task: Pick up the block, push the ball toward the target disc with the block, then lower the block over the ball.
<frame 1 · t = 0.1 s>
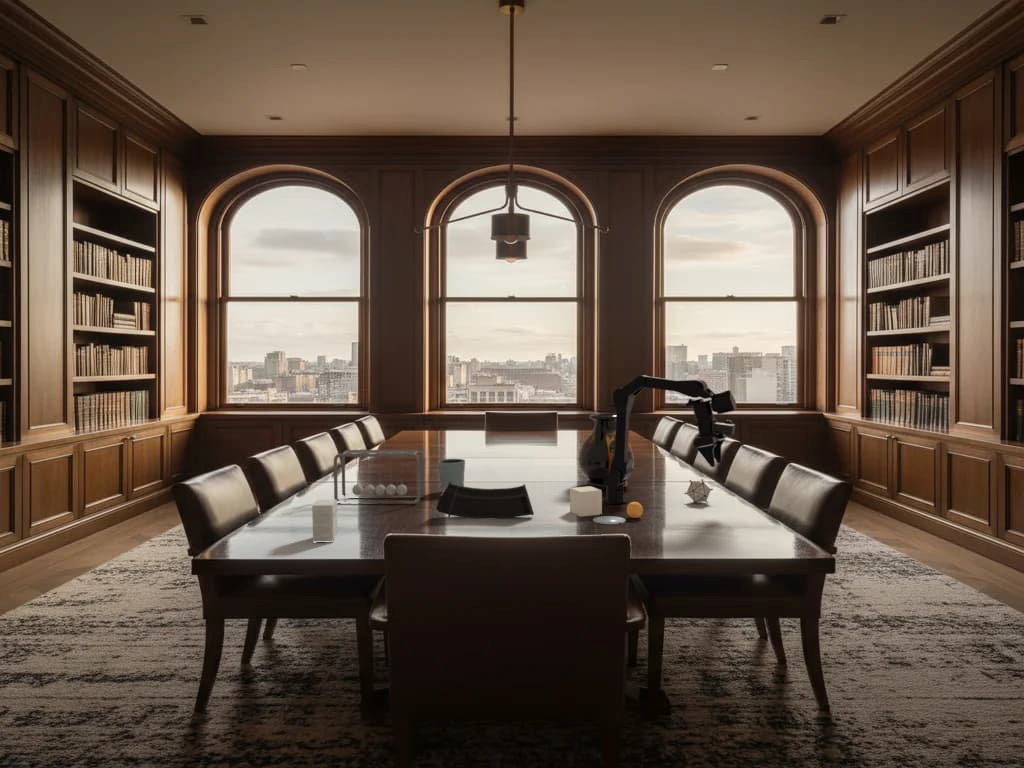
hand: (716, 464, 225), 15 cm above the table, tool pointing down, fingers open, 9 cm apart
ball: (634, 509, 219), on the table
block: (585, 513, 226), on the table
amphora vase: (606, 486, 273), on the table
small box: (325, 540, 196), on the table
newton's cradle: (380, 502, 247), on the table
target disc: (609, 520, 216), on the table
magazine: (485, 518, 221), on the table
drinking glass: (451, 492, 263), on the table
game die: (698, 503, 241), on the table
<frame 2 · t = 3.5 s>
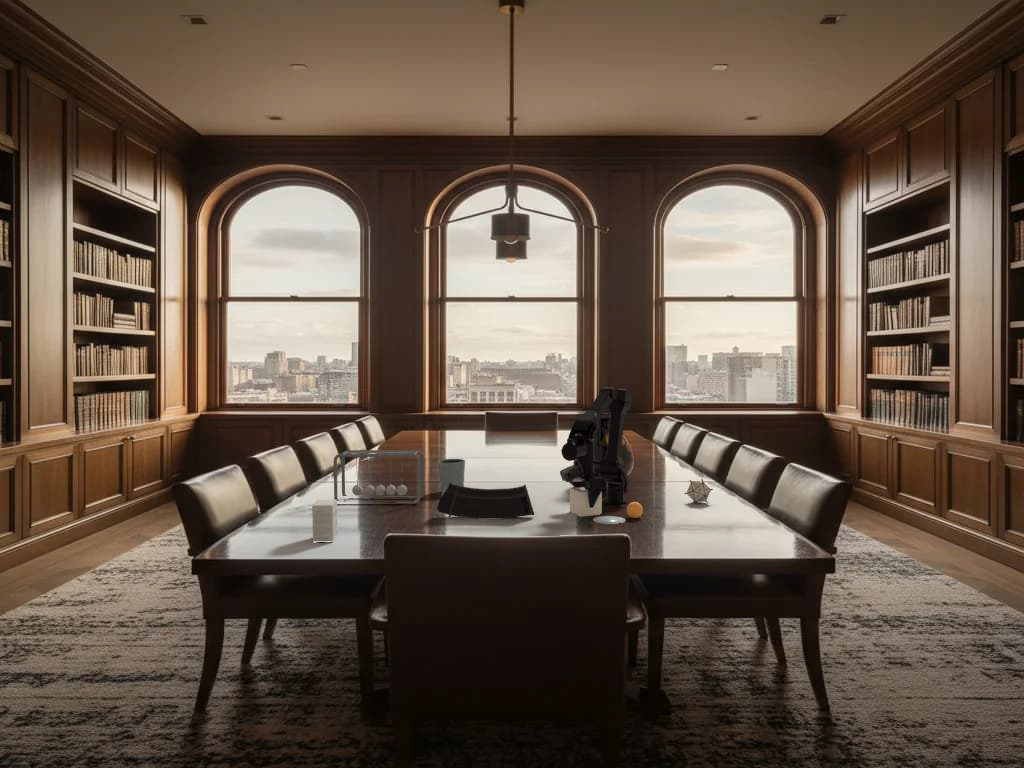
hand: (585, 505, 226), 3 cm above the table, tool pointing down, fingers closed on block, 8 cm apart
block: (585, 513, 226), on the table, touching gripper
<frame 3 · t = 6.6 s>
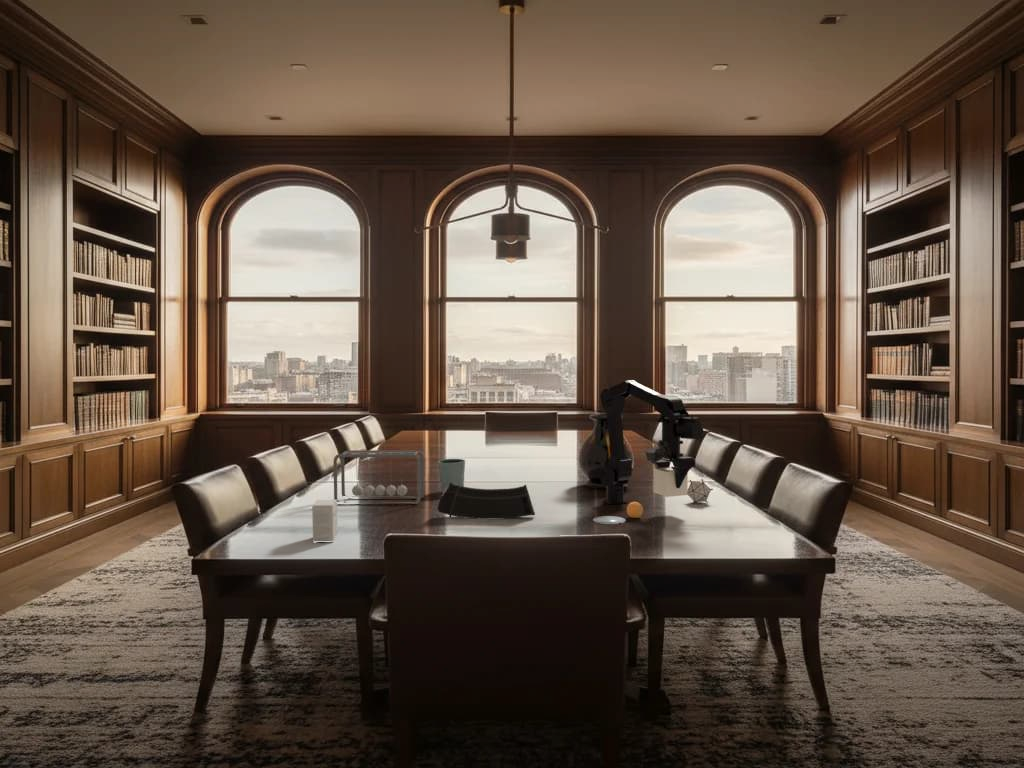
hand: (670, 485, 224), 9 cm above the table, tool pointing down, fingers closed on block, 8 cm apart
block: (670, 493, 224), point 7 cm above the table, touching gripper
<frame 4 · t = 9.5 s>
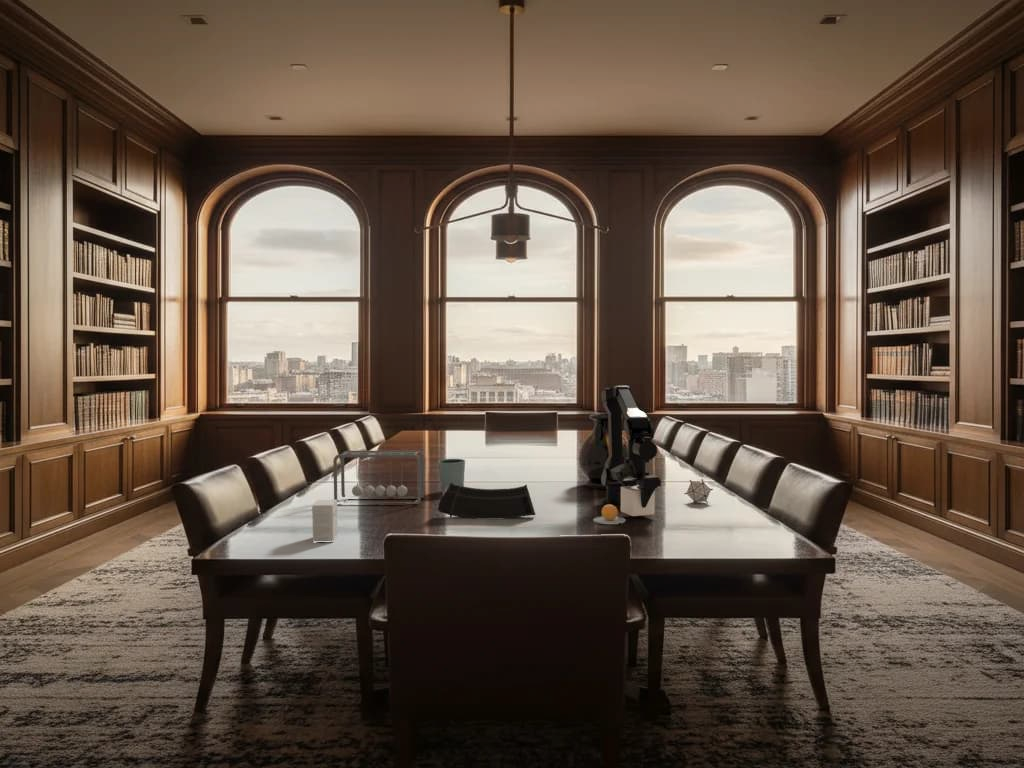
hand: (636, 505, 219), 4 cm above the table, tool pointing down, fingers closed on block, 8 cm apart
ball: (609, 512, 216), on the table
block: (637, 512, 219), point 2 cm above the table, touching gripper
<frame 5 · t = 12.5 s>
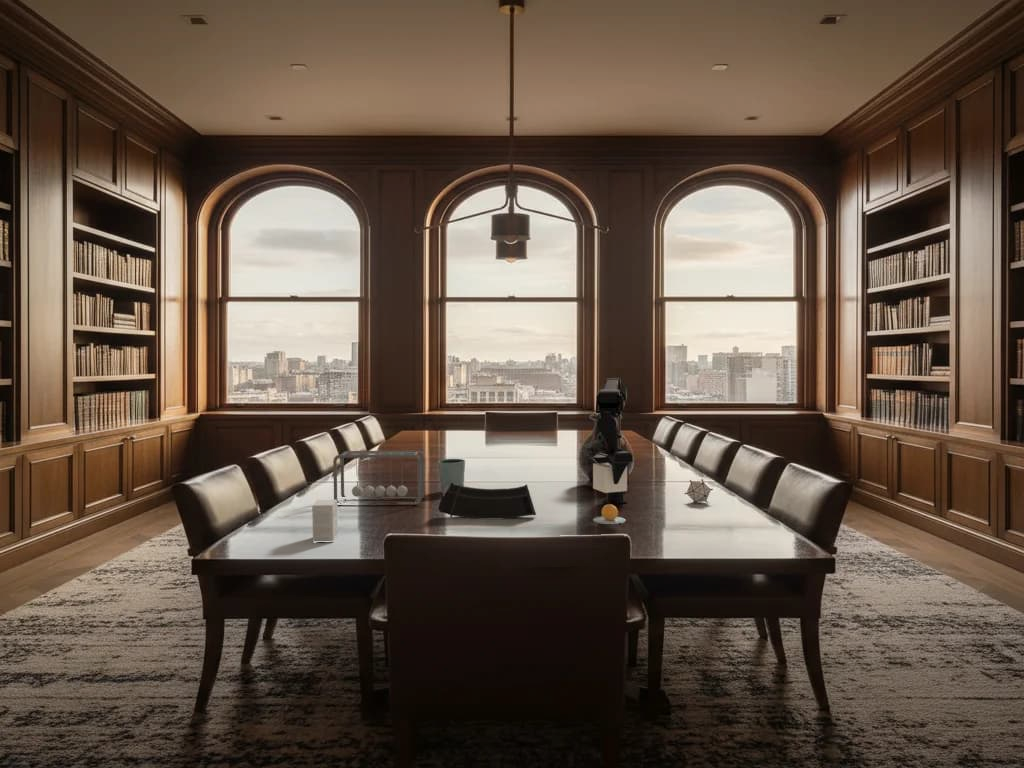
hand: (609, 481, 215), 12 cm above the table, tool pointing down, fingers closed on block, 8 cm apart
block: (609, 489, 216), point 10 cm above the table, touching gripper
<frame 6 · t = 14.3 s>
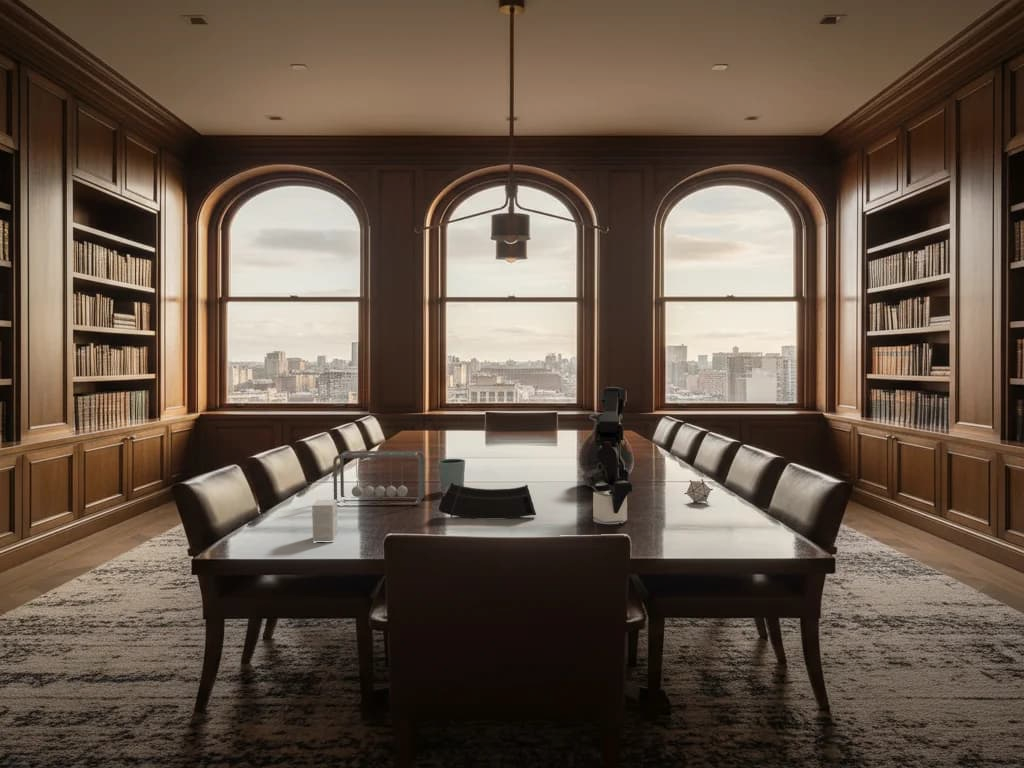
hand: (609, 510, 216), 3 cm above the table, tool pointing down, fingers closed on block, 8 cm apart
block: (609, 518, 216), point 1 cm above the table, touching gripper
when the fingers open (3 cm above the table, at t = 14.8 s): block stays where it is, on the table.
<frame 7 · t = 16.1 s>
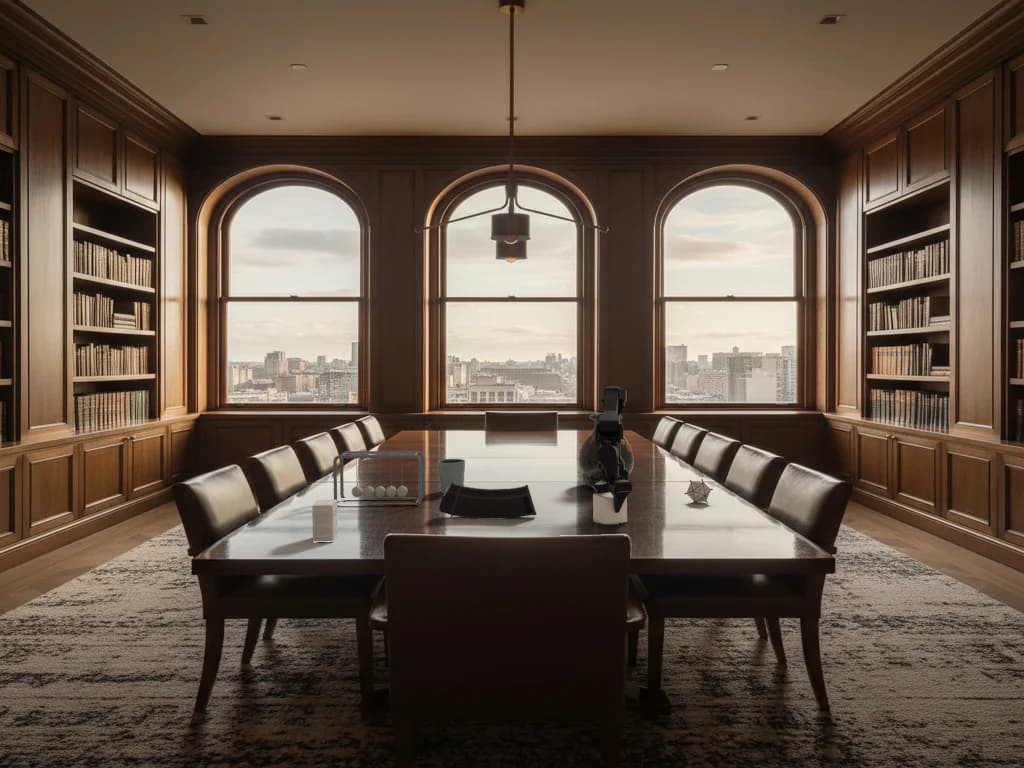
hand: (609, 509, 216), 3 cm above the table, tool pointing down, fingers open, 9 cm apart
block: (609, 520, 216), on the table
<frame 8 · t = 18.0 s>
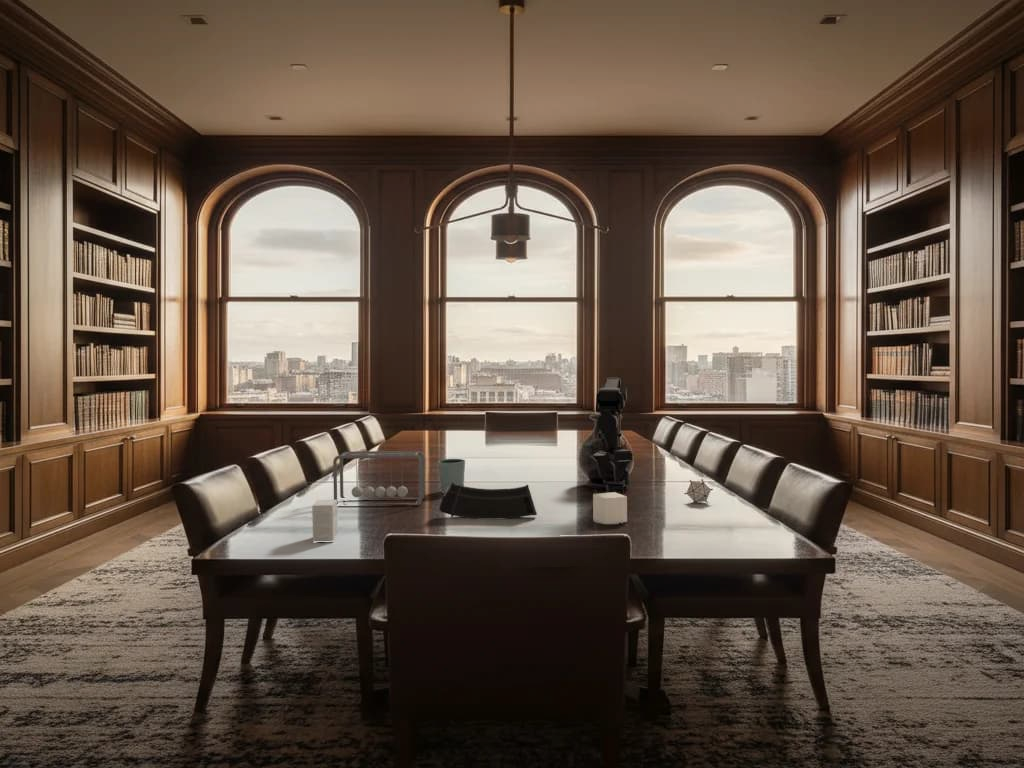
hand: (609, 480, 215), 12 cm above the table, tool pointing down, fingers open, 9 cm apart
at the end: ball 0.3 cm from the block (horizontally); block on the table; ball moved 9.0 cm from its start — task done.
